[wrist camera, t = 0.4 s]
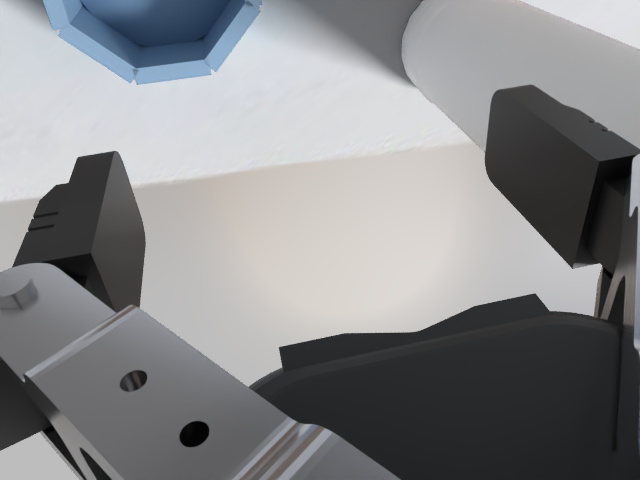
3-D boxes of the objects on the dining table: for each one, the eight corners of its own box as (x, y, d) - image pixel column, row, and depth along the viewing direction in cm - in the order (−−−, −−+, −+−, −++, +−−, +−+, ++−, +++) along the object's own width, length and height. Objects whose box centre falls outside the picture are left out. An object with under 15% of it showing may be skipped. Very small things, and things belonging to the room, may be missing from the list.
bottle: (377, 68, 38) (710, 417, 14) (441, -44, 35) (1017, 163, 11) (463, 113, 42) (850, 457, 17) (528, 15, 38) (1116, 273, 14)
